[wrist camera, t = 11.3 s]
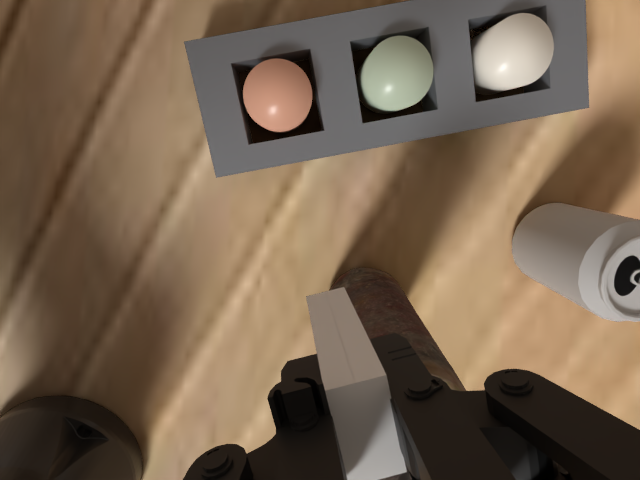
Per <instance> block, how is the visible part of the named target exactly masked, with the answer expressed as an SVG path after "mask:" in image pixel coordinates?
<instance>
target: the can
mask: <svg viewBox="0 0 640 480" xmlns="http://www.w3.org/2000/svg"><path fill="white" fill-rule="evenodd" d="M512 254H513V257H514V261H515V263H516V265H517V266H518V267H519V269H520V270H521V272H523V273H524V274H526V275H527V276H529V277H530V278H532V279H533V280H535V281H537V282H539V283H541V284H542V285H544V286H546V287H548V288H549V289H551V290H553V291H555V292H556V293H558V294H560V295H562V296H564V297H565V298H567V299H569V300H571V301H572V302H574V303H576V304H578V305H579V306H581V307H583V308H585V309H587V310H588V311H590V312H592V313H594V314H595V315H597V316H599V317H601V318H603V319H607V320H612V321H616V322H619V321H633V322H637V321H640V220H638V219H633V218H629V217H624V216H619V215H615V214H610V213H606V212H601V211H596V210H592V209H587V208H582V207H578V206H573V205H569V204H564V203H547V204H545V205H542V206H540V207H537V208H535V209H534V210H532V211H531V212H530V213H528V214H527V215H526V216H525V217H524V218H523V219H522V221H521V222H520V223H519V225H518V226H517V228H516V231H515V233H514V236H513V239H512Z"/></svg>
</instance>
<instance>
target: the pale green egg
mask: <svg viewBox="0 0 640 480" xmlns="http://www.w3.org/2000/svg"><path fill="white" fill-rule="evenodd" d="M432 80H433V62H432V59H431V56H430V54H429V52H428V51H427V49H426V48H425V47H424V45H422V44H421V43H420V42H419V41H417V40H416V39H414V38H411V37H408V36H393V37H390V38H387V39H385V40H384V41H382V42H381V43H379V44H378V45H377V46H376V47H375V48H374V50H373V51H372V52H371V53H370V55H369V56H368V57H367V58H366V60H365V61H364V62H363V63H362V65H361V66H360V68H359V70H358V72H357V76H356V84H357V91H358V97H359V99H360V101H361V102H362V103H363V105H364V106H365V107H367V108H368V109H369V110H371V111H373V112H376V113H380V114H389V113H393V112H396V111H399V110H401V109H404V108H407V107H410V106H412V105H414V104H416V103H417V102H419V101H420V100H421V99H422V98H423V97H424V96H425V95H426V93H427V92H428V90H429V88H430V86H431V83H432Z"/></svg>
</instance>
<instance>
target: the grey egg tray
mask: <svg viewBox="0 0 640 480" xmlns="http://www.w3.org/2000/svg"><path fill="white" fill-rule="evenodd" d="M518 13H529V14H533V15H535V16H537V17H539V18H541V19H542V20H543V21H544V22H545V23H546V24H547V26H548V27H549V29H550V31H551V33H552V36H553V42H554V51H553V56H552V60H551V63H550V65H549V67H548V68H547V70H546V71H545V73H544V74H543V75H542V76H541V77H540V78H539V79H537V80H536V81H534V82H533V83H531V84H528V85H525V86H523V91H524V93H523V94H518V95H513V96H507V97H502V98H496V99H491V100H486V101H480V102H476V100H475V89H474V78H473V67H472V56H471V46H470V35H469V30H471V29H476V28H482V27H487V26H493V25H496V24H497V23H499V22H501V21H502V20H504V19H506V18H507V17H509V16H511V15H514V14H518ZM393 36H408V37H411V38H414V39H416V40H417V41H419V42H420V43H421V44H422V45H424V47H425V48H426V49H427V51H428V52H429V54H430V56H431V59H432V62H433V80H432V83H431V86H430V88H429V90H428V92H427V93H426V95H425V96H424V97H423V98H422V99H421V101H422V109H423V112H421V113H416V114H411V115H405V116H400V117H395V118H389V119H384V120H379V121H373V122H368V123H362V117H361V111H360V104H359V97H358V91H357V84H356V78H355V71H354V65H353V58H352V52H351V51H357V50H362V49H368V48H373V47H376V46H377V45H378V44H379V43H381V42H382V41H384V40H385V39H387V38H390V37H393ZM184 43H185V48H186V52H187V56H188V60H189V65H190V69H191V73H192V77H193V82H194V86H195V90H196V94H197V98H198V103H199V107H200V111H201V115H202V120H203V124H204V128H205V132H206V136H207V141H208V145H209V149H210V153H211V158H212V162H213V166H214V170H215V174H216V178H217V177H222V176H227V175H233V174H238V173H243V172H249V171H254V170H259V169H265V168H270V167H275V166H281V165H286V164H291V163H297V162H302V161H307V160H313V159H318V158H323V157H329V156H334V155H339V154H345V153H350V152H355V151H361V150H366V149H371V148H377V147H382V146H387V145H393V144H398V143H403V142H409V141H414V140H419V139H425V138H430V137H435V136H441V135H446V134H451V133H457V132H462V131H467V130H473V129H478V128H483V127H489V126H494V125H499V124H505V123H510V122H515V121H521V120H526V119H531V118H537V117H542V116H547V115H553V114H558V113H563V112H569V111H574V110H579V109H585V108H589V91H588V62H587V32H586V2H585V0H410V1H404V2H399V3H393V4H388V5H382V6H377V7H371V8H366V9H361V10H355V11H350V12H344V13H339V14H333V15H328V16H322V17H317V18H311V19H306V20H300V21H295V22H289V23H284V24H279V25H273V26H268V27H262V28H257V29H251V30H246V31H240V32H235V33H229V34H224V35H218V36H213V37H207V38H202V39H196V40H191V41H186V42H184ZM275 58H277V59H285V60H288V61H291V62H297V61H302V60H308V59H309V64H310V69H311V75H312V81H313V86H314V92H315V98H316V104H317V109H318V115H319V121H320V126H321V131H320V132H314V133H309V134H304V135H298V136H293V137H287V138H282V139H277V140H271V141H266V142H261V143H255V144H253V140H252V135H251V131H250V126H249V121H248V117H247V112H246V107H245V104H244V99H243V93H242V88H241V84H240V79H239V74H238V72H243V71H248V70H252V69H253V68H254V67H255V66H257V65H258V64H259V63H261V62H263V61H265V60H269V59H275Z"/></svg>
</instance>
